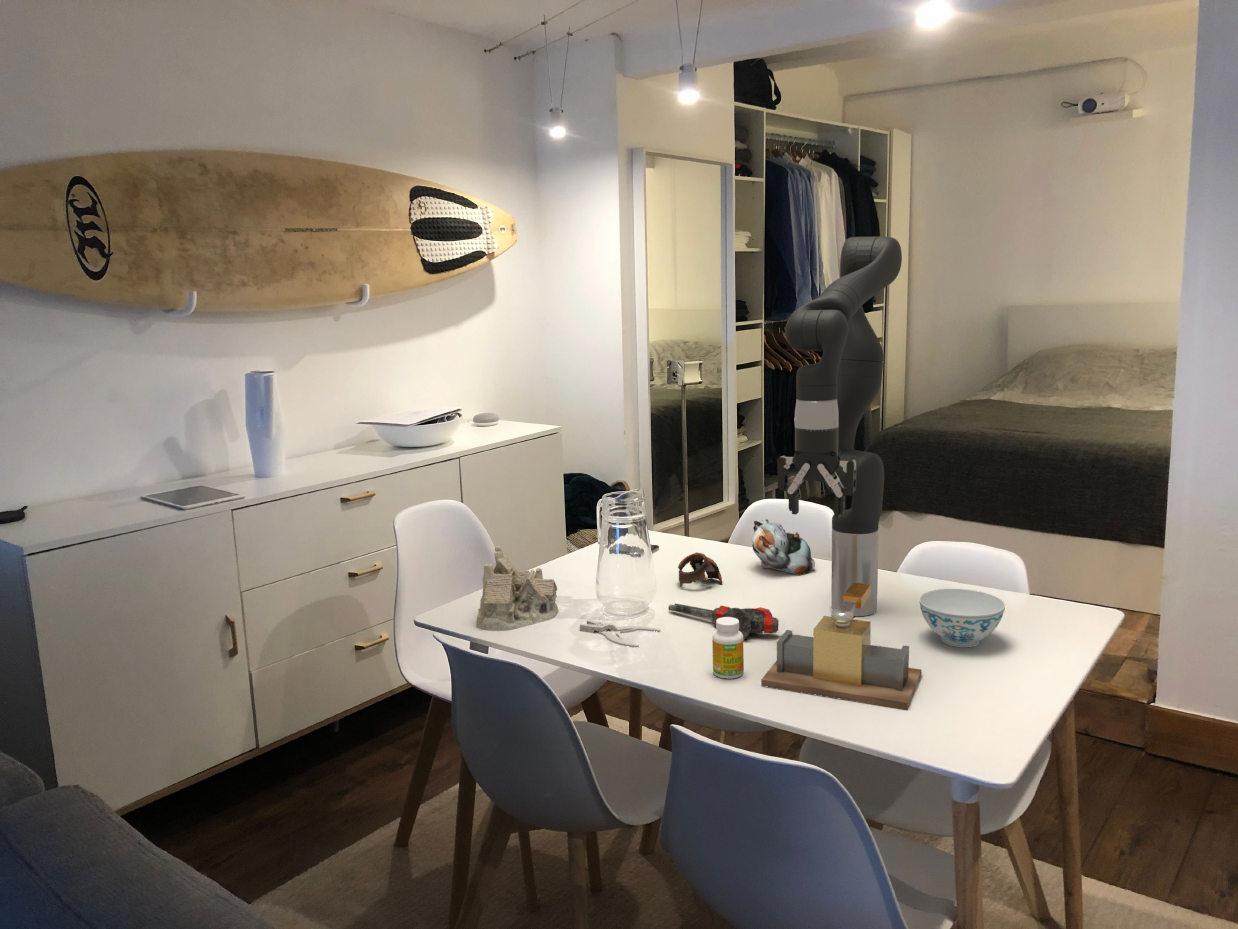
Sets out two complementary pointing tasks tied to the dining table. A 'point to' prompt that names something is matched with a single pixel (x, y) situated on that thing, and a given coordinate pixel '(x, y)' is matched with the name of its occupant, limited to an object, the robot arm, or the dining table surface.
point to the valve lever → (852, 602)
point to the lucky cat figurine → (781, 548)
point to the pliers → (602, 629)
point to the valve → (747, 617)
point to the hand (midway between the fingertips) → (816, 514)
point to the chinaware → (961, 615)
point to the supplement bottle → (728, 649)
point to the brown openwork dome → (698, 569)
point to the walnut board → (845, 688)
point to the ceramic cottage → (514, 596)
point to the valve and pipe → (843, 655)
